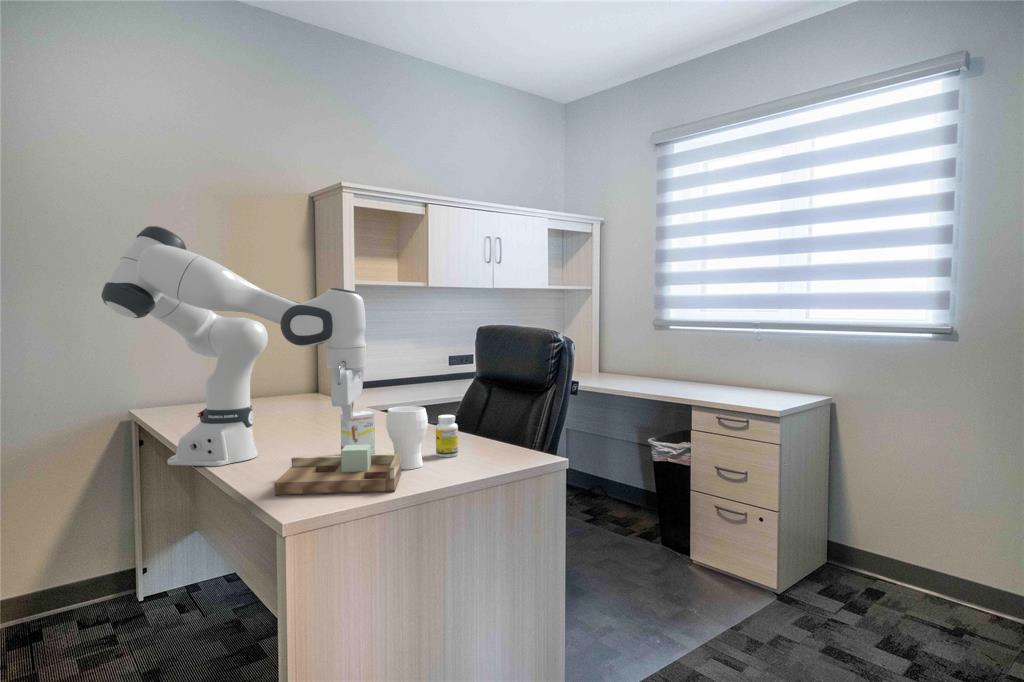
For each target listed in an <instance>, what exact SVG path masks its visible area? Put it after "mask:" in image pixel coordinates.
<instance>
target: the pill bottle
mask: <svg viewBox="0 0 1024 682" xmlns="http://www.w3.org/2000/svg"><path fill="white" fill-rule="evenodd" d="M437 418H438V419H437V420H438V423H437V424H436V426H435V452H436V453H435V454H436V456H437V457H440V458H454V457H456V456H458V454H459V426H458V423H455V421H456V416H455V415H454V414H441V415H438V417H437Z"/></svg>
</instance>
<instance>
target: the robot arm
mask: <svg viewBox="0 0 1024 682" xmlns="http://www.w3.org/2000/svg"><path fill="white" fill-rule="evenodd" d="M101 299H102V301H103V304H105V306H107V307H108V308H109V309H111V310H112V311H113V312H115V313H116V314H118V315H120V316H123V317H126V318H132V319H142V318H145V317H146V316H147V315H150V316H152V317H153V318H155V319H157V320H158V321H159V322H161V323H162V324H165V325H166V326H167V327H169V328H170V329H173V330H174V331H176V332H177V333H178V334H180V335H181V337H183V338H184V340H185V343H186V345H187V347H188V349H190V350H191V351H192V352H194V353H196V354H198V355H201V356H205V357H208V358H209V357H210V358H217V359H216V364H215V367H214V370H213V372H212V373H211V374H210V375H209V376H208V377H207V379H206V382H205V396H206V397H205V399H206V408H204V409H202V410H200V411H199V412H198V413H197V418H199V421H200V422H199V423H197V424H196V425H195V426H193V428H191V429H190V430H189V431H188V432H186V433H185V434H183V436H181V437H180V439H179V441H178V442H177V446H176V453H175V454H174V455H172V456H170V457H169V458H168V459H167V461H166V463H167V465H168V466H199V467H200V466H201V467H203V466H205V467H210V466H211V467H220V466H224V465H227V464H228V465H229V464H233V463H240V462H245V461H248V460H252V459H254V458H256V457H258V456H259V452H258V450H257V446H256V443H255V439H254V433H253V424H254V412H253V406H252V404H251V377H252V374H253V373H252V372H253V369H254V365H255V364H256V361H257V359H258V357H259V356H260V355H261V354H262V353H263V351H265V349H266V348H267V345H268V341H269V335H268V330H267V328H266V327H265V325H264V324H262V322H260V321H257V320H254V319H252V318H247V317H228V316H227V317H225V316H223V315H222V316H221V315H219V314H217V313H215V312H236V313H245V314H250V315H254V316H257V317H260V318H263V319H264V320H267V321H269V322H273V323H275V324H279V325H280V331H281V334H282V335H283V337H284V338H285V340H286V341H287V342H289V343H291V344H292V345H295V346H298V347H310V346H319V345H323V344H325V347H326V348H325V349H326V350H325V351H326V369H330V370H331V369H332V373H331V379H330V380H331V382H330V383H331V384H330V385H331V386H330V387H331V388H330V389H331V390H330V395H331V397H330V399H331V405H332V407H341V412H342V413H343V420H344V421H351V419H353V412H354V408H355V400H356V399H357V398H358V397H360V395H362V392H363V385H364V372H365V371H364V368H366V367H367V366H368V365H367V364H368V361H367V359H368V357H367V342H366V339H365V338H366V337H365V333H366V330H367V329H366V328H367V325H366V324H367V322H366V309H365V308H366V307H365V302H364V298H363V297H362V296H361V294H359V293H358V292H357V291H354V290H349V289H343V288H337V287H331V288H328V289H327V290H326V291H325V292H324V293H322V294H321V295H318V296H316V297H314V298H313V299H309V300H307V301H304V302H297V301H293V300H292V299H288V298H286V297H283V296H281V295H278V294H276V293H274V292H273V293H272V292H270V291H268V290H265V289H263V288H261V287H259V286H257V285H256V284H253V283H251V282H250V281H249V280H247V279H245V278H243V277H241V276H240V275H239V274H237V273H236V272H234V271H232V270H231V269H229V268H227V267H225V266H224V265H222V264H220V263H218V262H217V261H214V260H213V259H211V258H208V257H206V256H204V255H200V254H198V253H195V252H193V251H190V250H187V246H186V244H185V242H184V241H183V239H182V237H180V236H179V235H177V234H176V233H174V232H173V231H171V230H169V229H167V228H164V227H161V226H156V225H151V226H146V227H145V228H143V229H142V230H141V231H140V232H139V233H138V234H137V235H136V239H135V240H133V241H132V243H131V244H130V245H129V246H128V247H127V249H126V250H125V251H124V252H123V254H122V255H121V257H120V259H119V261H118V263H117V264H116V266H115V268H114V269H113V272H112V274H111V276H110V278H109V279H108V282H106V283H105V284H104V285H103V288H102V292H101Z"/></svg>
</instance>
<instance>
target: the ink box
mask: <svg viewBox="0 0 1024 682" xmlns="http://www.w3.org/2000/svg"><path fill="white" fill-rule="evenodd" d="M369 444H371V455H375V454H376V452H377V451H376V448H377V447H376V413H374V412H372V411H369V410H361V411H353V419H351V421H344V420H343V412H342V413H341V414H340V451H341V450H342V449H343V448H344V447H345V446H346V445H369Z"/></svg>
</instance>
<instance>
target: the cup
mask: <svg viewBox="0 0 1024 682" xmlns="http://www.w3.org/2000/svg"><path fill="white" fill-rule="evenodd" d="M428 419H429V418H428V413H427V410H426V408H425V407H423V406H418V405H416V406H415V405H403V406H395V407H394V406H393V407H390V408H388V409H387V414H386V419H385V422H386V423H385V425H386V430H387V434H388V436H389V438H390V440H391V442H392V445H393V455H394V454H396V453H400V454H401V470H415V469H419V468H421V467H423V464H424V463H423V457H422V453H421V450H422V442H423V440H424V438H425V436H426V433H427V430H428V423H429V422H428Z"/></svg>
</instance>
